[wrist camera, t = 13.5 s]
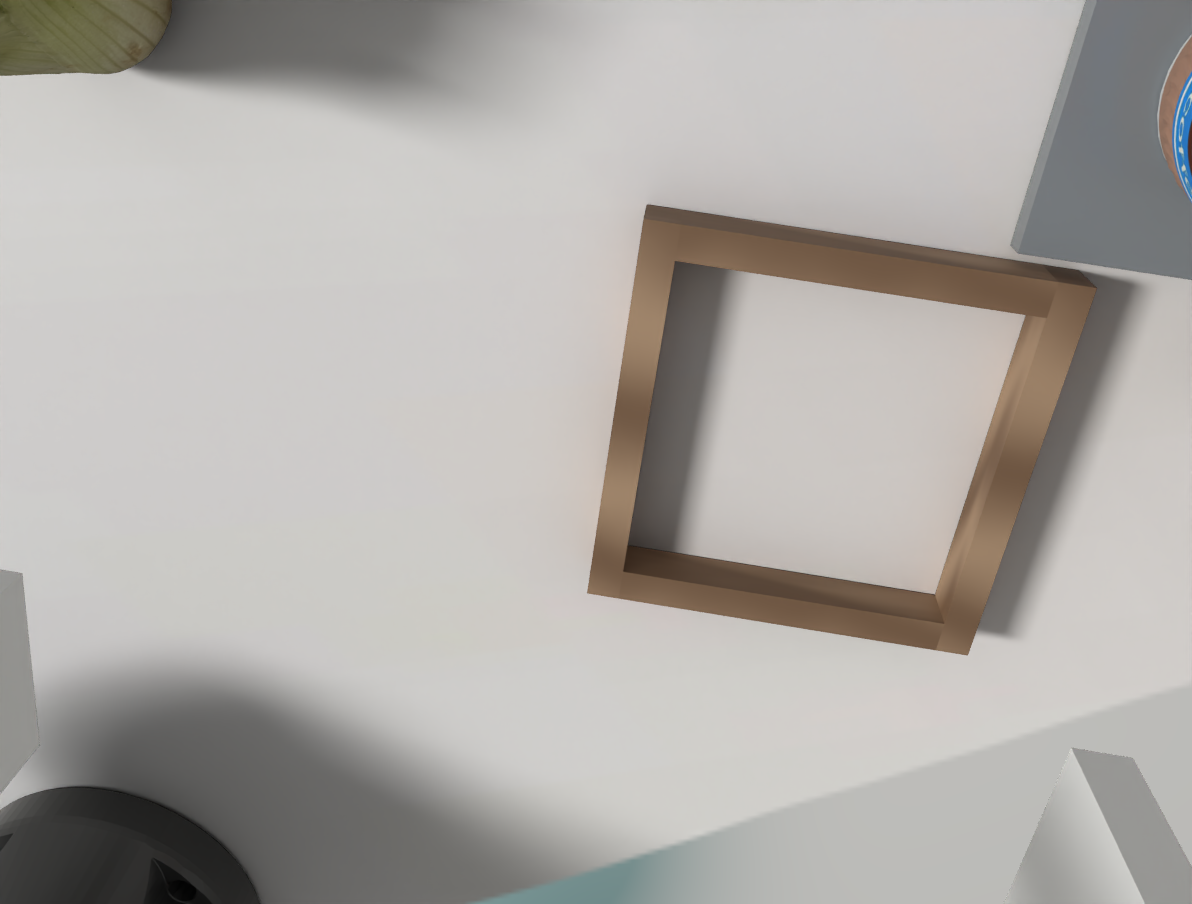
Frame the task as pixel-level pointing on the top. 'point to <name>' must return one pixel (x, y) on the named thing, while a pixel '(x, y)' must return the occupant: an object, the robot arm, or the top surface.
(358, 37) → the top surface
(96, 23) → the fennel bulb
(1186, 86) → the coffee cup
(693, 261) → the brown wooden square frame
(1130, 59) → the slate coaster
